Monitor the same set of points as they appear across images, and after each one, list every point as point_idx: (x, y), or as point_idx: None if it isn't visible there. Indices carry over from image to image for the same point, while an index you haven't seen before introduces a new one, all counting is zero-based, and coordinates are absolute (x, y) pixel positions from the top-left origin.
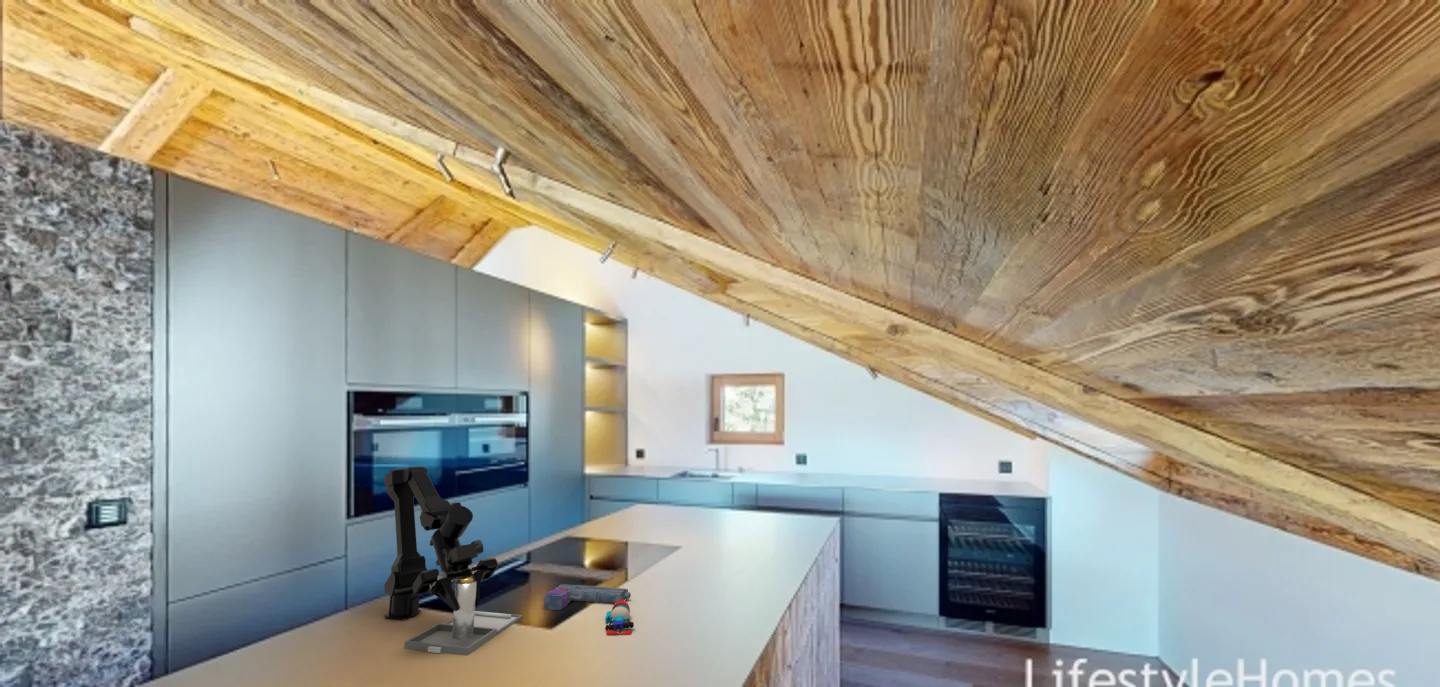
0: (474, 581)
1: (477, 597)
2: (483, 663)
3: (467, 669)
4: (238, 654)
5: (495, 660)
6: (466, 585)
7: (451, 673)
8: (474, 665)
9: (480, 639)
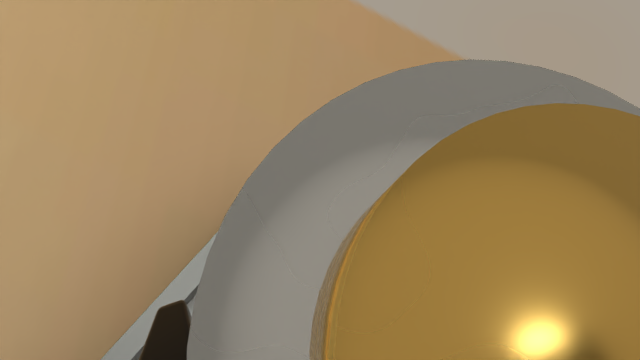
0: (263, 343)
1: (174, 357)
2: (197, 80)
3: (295, 45)
4: None
5: (120, 88)
6: (511, 62)
7: (380, 38)
8: (251, 78)
9: (171, 286)
